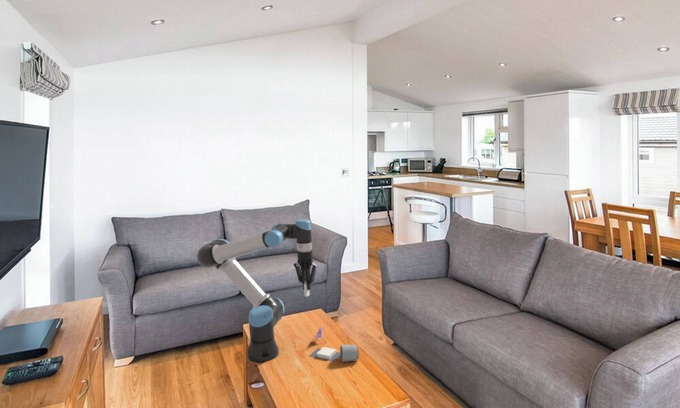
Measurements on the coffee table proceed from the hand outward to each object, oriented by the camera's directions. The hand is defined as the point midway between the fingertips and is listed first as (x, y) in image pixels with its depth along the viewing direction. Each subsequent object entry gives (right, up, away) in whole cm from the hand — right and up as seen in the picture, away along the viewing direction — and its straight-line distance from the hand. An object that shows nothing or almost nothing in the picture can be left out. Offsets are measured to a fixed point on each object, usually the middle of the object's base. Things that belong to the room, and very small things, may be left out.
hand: (307, 295), depth 215 cm
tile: (+7, -26, -7) cm, 28 cm away
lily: (+6, -26, +6) cm, 27 cm away
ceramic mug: (+21, -28, -12) cm, 37 cm away
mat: (+10, -27, -8) cm, 30 cm away
